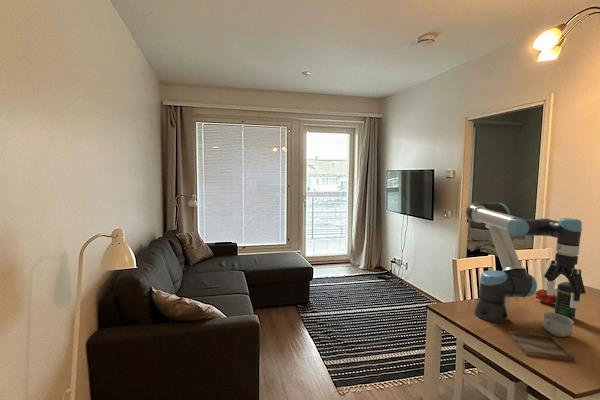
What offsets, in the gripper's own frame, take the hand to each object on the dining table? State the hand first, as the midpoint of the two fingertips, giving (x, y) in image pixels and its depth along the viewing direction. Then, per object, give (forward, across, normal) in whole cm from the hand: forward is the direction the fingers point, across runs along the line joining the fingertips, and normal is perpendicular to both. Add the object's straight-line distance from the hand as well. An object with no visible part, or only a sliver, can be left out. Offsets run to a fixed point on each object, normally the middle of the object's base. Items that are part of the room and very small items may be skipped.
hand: (561, 301), depth 140 cm
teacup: (+19, -7, +4) cm, 20 cm away
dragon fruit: (+20, -45, +27) cm, 56 cm away
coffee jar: (+19, -26, +22) cm, 39 cm away
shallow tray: (+18, +7, -12) cm, 23 cm away
